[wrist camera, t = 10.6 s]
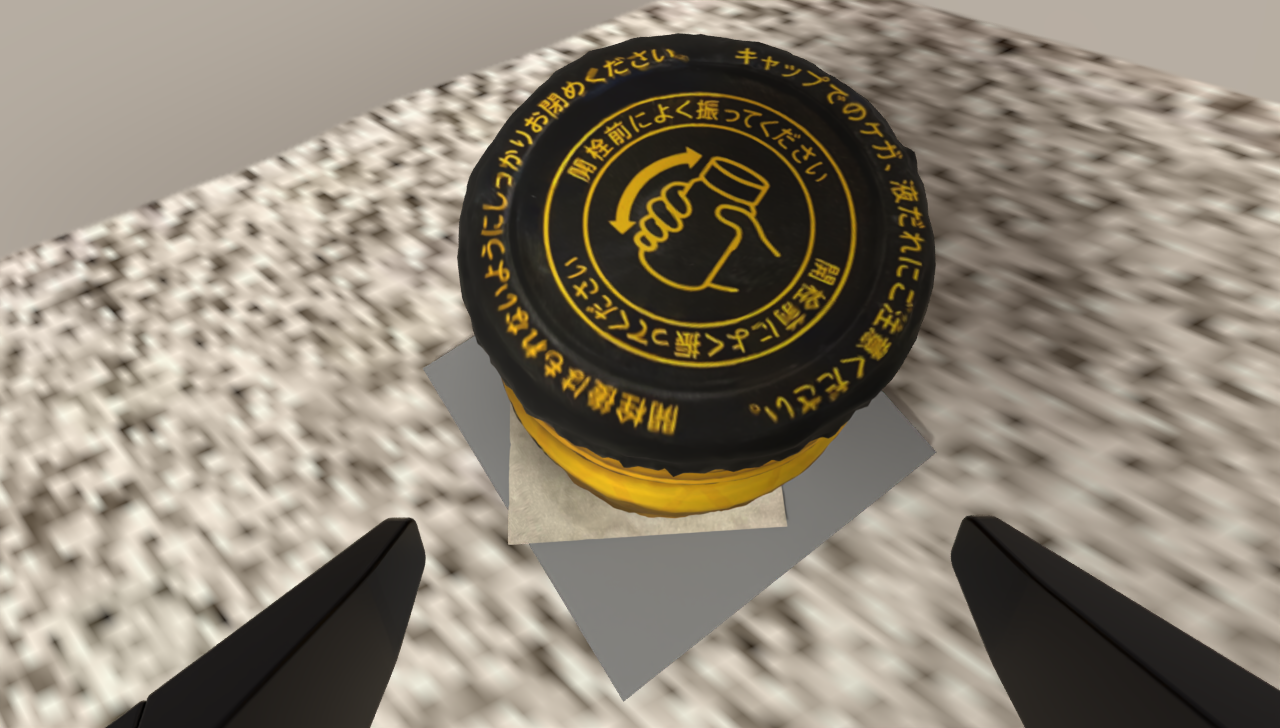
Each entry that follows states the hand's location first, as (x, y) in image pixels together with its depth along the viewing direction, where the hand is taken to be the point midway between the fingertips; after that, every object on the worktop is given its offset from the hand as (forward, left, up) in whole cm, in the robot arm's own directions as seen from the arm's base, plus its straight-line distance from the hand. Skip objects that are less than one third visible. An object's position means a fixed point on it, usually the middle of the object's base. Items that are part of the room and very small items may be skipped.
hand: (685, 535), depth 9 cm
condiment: (+3, -1, -8) cm, 9 cm away
